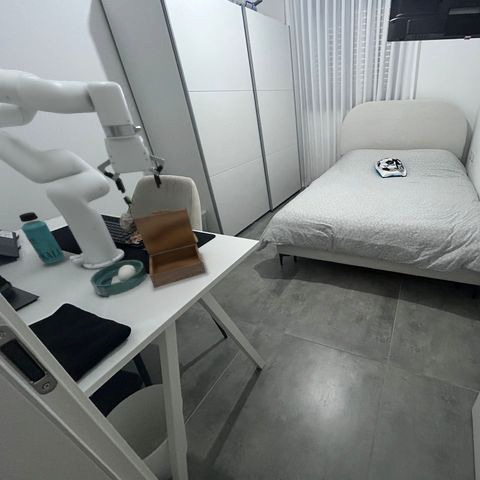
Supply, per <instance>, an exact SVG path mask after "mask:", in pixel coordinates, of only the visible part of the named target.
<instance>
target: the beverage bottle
mask: <svg viewBox="0 0 480 480" xmlns="http://www.w3.org/2000/svg"><path fill="white" fill-rule="evenodd" d="M18 216H19V219H20V221H21V222H22V223H24V224H23V225H22V226H21V229H20V230H22V232H23V233H24V235H25V237H26V239H27V241H28V243H29V244H31V246H32V247H33V250H34V251H35V253H36V255H37V256H38V258H39V260H40V261H41V262H42V263H44V264H52V263H55V262H59V261H61V260H63V258H64V257H65V253H64V252H63V250H62V248H61V246H60V244H59V243H58V241H57V240H56V239H55V237H54V236H53V234H52V232H51V230H50V228H49V226H48V225H47V223H46V222H45V221H42V220H37V219H39V216H38V215H37V214H36V213H35V212H32V211H30V212H25V213H22V214H19V215H18Z"/></svg>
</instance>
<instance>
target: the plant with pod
mask: <svg viewBox="0 0 480 480" xmlns="http://www.w3.org/2000/svg"><path fill="white" fill-rule="evenodd" d="M122 200H124V203H125V204H126V205H127V207H128V208H129V213H128V212H127V210H126V211H125V212H122V214H121V215H120V217H119V226H120V228H121V229H122V230H123V231H125V232H124V235H126V234H127V232H128V233H131V234H132V236H130V237H129V239H127V240H128V241H127V240H125V241H124V243H126V244H135V245H137V244H138V245H139V244H140V243H141V242H137V241H140V240H142V238H141V236H140V234H139V233H138V229H137V227H136V225H135V223H134V220H133V218H136V217H135V216H134V214H132V210H131V205H132V206H135V204H134V203H133V199H131V198H130V196H128V195H125V196H124V197H123V199H122Z"/></svg>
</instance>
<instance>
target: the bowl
mask: <svg viewBox="0 0 480 480" xmlns="http://www.w3.org/2000/svg"><path fill="white" fill-rule="evenodd" d="M124 265H131V266H133V267H135V269H136V274H135V275H133V276H131V277H130V278H128V279H125V280H123V281H117V282H113V278H114V277H116V276H117V277H118V272H119V269H120V268H121V267H122V266H124ZM147 277H148V272H147V270H146V268H145V265H144V263H143V262H142V261H140V260H137V259H127V260H121V261H116V262H115V263H113V264H111V265H108V266H105V267H102V268H99V270H97V271H96V272H95V273H93V275H92V276H91V277H90V280H89V282H90V284H91V286H92V287H93V289H94V291H95V292H96V294H97V295H99V296H103V297H104V296H105V297H110V296H115V295H120V294H123V293H126V292H128V291H131V290H133V289H134V288H136V287H138V286H139V285H141V284H142V283H143V282H144V281H145V280H146V278H147Z"/></svg>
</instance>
